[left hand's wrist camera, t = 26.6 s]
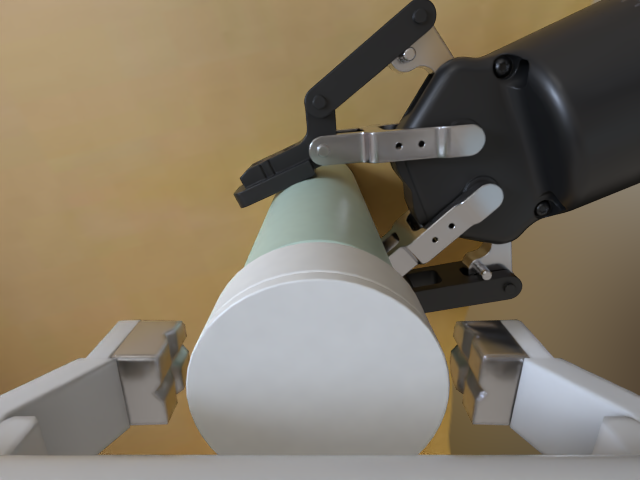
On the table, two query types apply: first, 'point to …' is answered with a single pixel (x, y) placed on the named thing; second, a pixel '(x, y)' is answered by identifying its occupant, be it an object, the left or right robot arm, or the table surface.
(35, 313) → the table surface
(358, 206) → the jar
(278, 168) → the right robot arm
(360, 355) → the lid
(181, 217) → the table surface
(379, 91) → the table surface
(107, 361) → the left robot arm
